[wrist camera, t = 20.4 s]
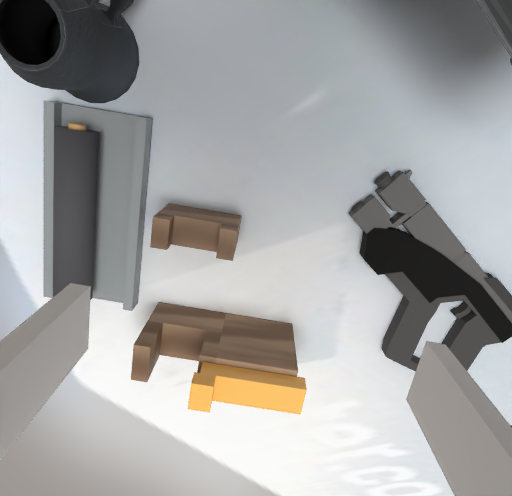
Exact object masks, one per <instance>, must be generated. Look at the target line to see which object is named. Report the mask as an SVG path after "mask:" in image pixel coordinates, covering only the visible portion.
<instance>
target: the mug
mask: <svg viewBox="0 0 512 496" xmlns="http://www.w3.org/2000/svg"><path fill="white" fill-rule="evenodd" d="M99 1H100V0H0V54H1V55H2V57H3V58H4V60H5V61H6V62H7V64H8V65H9V66H10V67H11V69H12V70H13V71H14V72H15V73H16V74H18V75H19V76H20V77H22V78H23V79H24V80H26V81H27V82H29V83H32V84H35V85H37V86H40V87H44V88H51V89H58V90H66V91H68V92H69V93H70V94H72V95H73V96H75V97H76V98H79V99H82V100H84V101H87V102H90V103H106V102H109V101H112V100H115V99H118V98H119V97H120V96H121V95H123V94H124V93H125V92H126V91H128V89H129V88H130V86H131V85H132V83H133V81H134V80H135V78H136V74H137V70H138V66H139V52H138V45H137V42H136V39H135V36H134V33H133V31H132V30H131V28H130V27H129V25H128V24H127V22H126V21H125V19H124V18H123V17H122V16H120V14H121V13H122V12H123V11H125V10H126V9H127V8H128V7H129V6H130V5H131V4H132V3H133V1H134V0H110V7H108V6H106V5H103V4H101V3H98V2H99Z"/></svg>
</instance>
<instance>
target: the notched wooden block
mask: <svg viewBox="0 0 512 496" xmlns="http://www.w3.org/2000/svg"><path fill="white" fill-rule="evenodd" d="M159 355H164V356H170V357H177V358H183V359H189V360H195V361H199V365H198V372H197V373H200V371H201V367H202V363H203V362H207V363H214V364H220V365H226V366H232V367H239V368H245V369H251V370H258V371H264V372H270V373H276V374H283V375H289V376H295V377H297V373H298V367H297V359H296V351H295V343H294V335H293V327H292V324H290V323H283V322H277V321H271V320H265V319H259V318H253V317H246V316H240V315H234V314H228V313H222V312H216V311H210V310H203V309H197V308H191V307H185V306H179V305H173V304H166V303H160V302H159V303H158V305H157V307H156V308H155V310H154V312H153V313H152V315H151V317H150V318H149V320H148V322H147V323H146V325H145V327H144V328H143V330H142V332H141V333H140V335H139V337H138V339H137V340H136V342H135V344H134V349H133V361H132V373H131V380H137V381H143V382H147V381H148V379H149V377H150V375H151V372H152V370H153V368H154V366H155V364H156V361H157V359H158V357H159Z"/></svg>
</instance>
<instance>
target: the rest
mask: <svg viewBox="0 0 512 496" xmlns="http://www.w3.org/2000/svg"><path fill="white" fill-rule="evenodd" d="M240 222H241V216H239V215H233V214H227V213H221V212H215V211H209V210H204V209H198V208H192V207H186V206H180V205H174V204H168V205H167V206H166V207H164V208H163V209H162V210H161V211H160V212H158V213H157V214H156V215H155V216H154V217H153V223H152V235H151V246H150V247H153V248H159V249H165V250H167V249H168V248H169V247H170V245H171V244H173V245H179V246H185V247H191V248H197V249H203V250H209V251H215V252H217V256H216V258H219V259H225V260H231V261H233V257H234V253H235V249H236V245H237V240H238V234H239V228H240Z"/></svg>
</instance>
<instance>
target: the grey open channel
mask: <svg viewBox="0 0 512 496" xmlns="http://www.w3.org/2000/svg"><path fill="white" fill-rule="evenodd" d="M152 121H153V119H152V118H146V117H140V116H135V115H129V114H123V113H118V112H112V111H106V110H100V109H95V108H89V107H83V106H78V105H72V104H66V103H60V102H55V101H44V297H50V298H53V213H54V126H66V127H68V123H77V124H83V125H86V129H88V130H93V131H97V132H99V153H98V177H97V202H96V226H95V250H94V274H93V297H92V298H97V299H103V300H109V301H115V302H121V303H124V304H123V309H124V310H130V311H132V310H133V309H134V307H135V306H136V304H137V303H138V293H139V280H140V268H141V256H142V244H143V231H144V219H145V207H146V195H147V182H148V170H149V158H150V146H151V133H152Z"/></svg>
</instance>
